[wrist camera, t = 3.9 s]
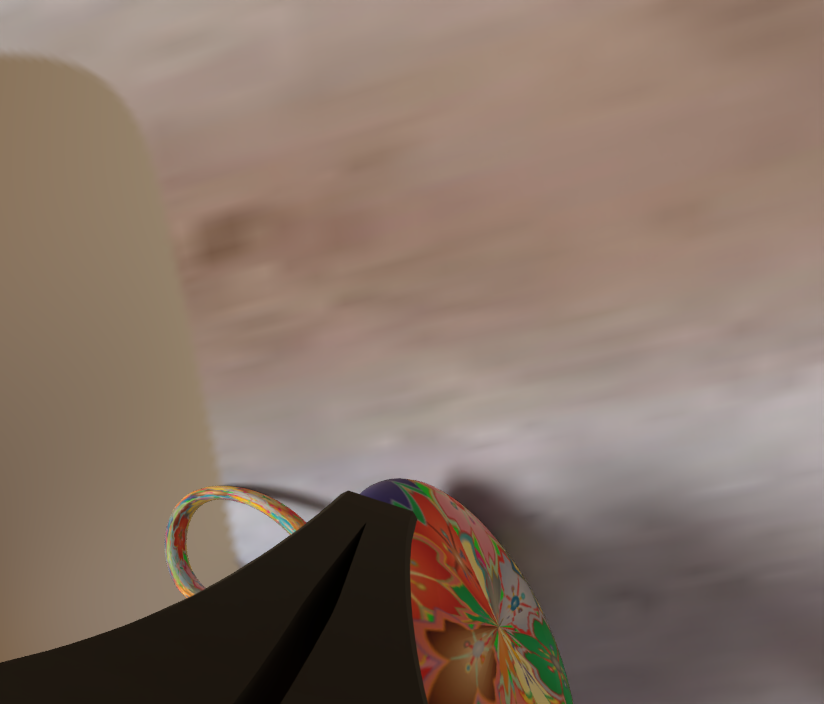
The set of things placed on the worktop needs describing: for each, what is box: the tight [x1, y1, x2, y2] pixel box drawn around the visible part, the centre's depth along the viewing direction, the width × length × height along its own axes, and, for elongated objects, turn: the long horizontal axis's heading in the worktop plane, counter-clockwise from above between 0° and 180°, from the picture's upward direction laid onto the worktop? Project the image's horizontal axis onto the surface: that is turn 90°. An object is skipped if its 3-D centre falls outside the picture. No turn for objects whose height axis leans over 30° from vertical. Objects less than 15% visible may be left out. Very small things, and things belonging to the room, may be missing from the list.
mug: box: [165, 478, 573, 704], centre depth 19 cm, size 12×9×11 cm
